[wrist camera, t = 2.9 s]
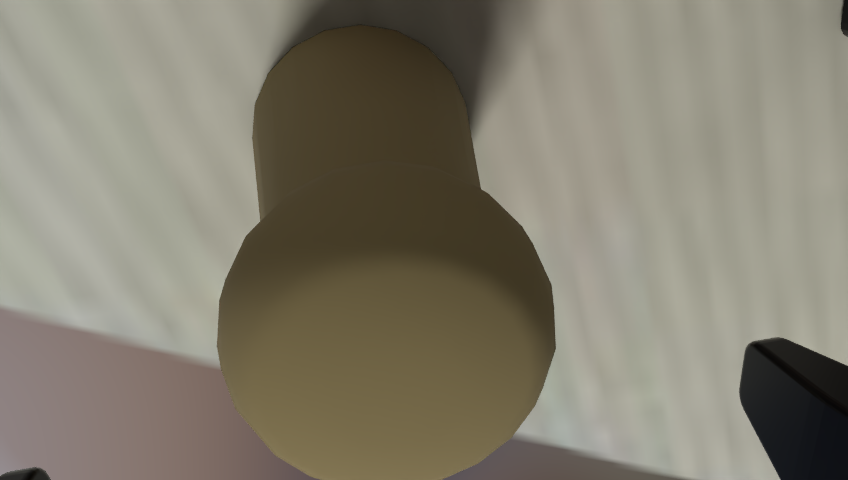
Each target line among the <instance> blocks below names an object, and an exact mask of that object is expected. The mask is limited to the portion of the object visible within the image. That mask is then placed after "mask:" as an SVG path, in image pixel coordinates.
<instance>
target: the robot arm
mask: <svg viewBox="0 0 848 480" xmlns="http://www.w3.org/2000/svg"><path fill="white" fill-rule="evenodd" d="M841 30H842V32H843V34H844V35H845V36H847V37H848V0H845V3H844V9H843V14H842V20H841ZM739 393H740V400H741V404H742V406H743V409H744V411H745V413H746V415H747V417H748V418H749V420H750V422H751V424H752V426H753V428H754V430H755V432H756V434H757V436H758V437H759V439H760V441H761V443H762V445H763V447H764V449H765V451H766V453H767V455H768V457H769V458H770V460H771V462H772V464H773V466H774V468H775V470H776V472H777V474H778V476H779V477H780V479H781V480H848V366H847V365H844V364H842V363H840V362H837V361H835V360H833V359H831V358H828V357H826V356H824V355H821V354H819V353H817V352H814V351H812V350H810V349H808V348H805V347H803V346H801V345H798V344H796V343H794V342H792V341H789V340H787V339H784V338H780V337H777V338H770V339H764V340H758V341H753V342H751V343H749V344H748V346H747V347H746V350H745V354H744V361H743V368H742V375H741V381H740V388H739ZM0 480H51V479H50V477H49V476H48V474H47V473H46V471H44V470H43V469H41V468H36V467H33V468H28V469H22V470H16V471H10V472H7V473H5V474H3V475H1V476H0Z"/></svg>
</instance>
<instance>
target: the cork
mask: <svg viewBox="0 0 848 480" xmlns="http://www.w3.org/2000/svg"><path fill="white" fill-rule="evenodd" d="M252 139H253V149H254V160H255V170H256V180H257V191H258V201H259V212H260V222H259V223H258V224H257V225H256V226H255V227H254V228H253V229H252V230H251V232H250V233H249V234H248V235H247V236H246V237H245V239H244V241H243V243H242V246H241V248H240V250H239V252H238V254H237V256H236V258H235V261H234V263H233V265H232V267H231V269H230V271H229V273H228V276H227V278H226V280H225V283H224V287H223V290H222V294H221V297H220V300H219V319H218V338H217V348H218V354H219V360H220V366H221V370H222V373H223V376H224V378H225V381H226V384H227V387H228V390H229V392H230V395H231V398H232V401H233V404H234V406H235V409H236V410H237V411H238V412H239V414H240V415H241V416H242V417H243V418H244V420H245V421H246V422H247V423H248V424H249V425H250V426H251V428H252V429H253V430H254V431H255V432H256V433H257V435H258V436H259V437H260V438H261V439H262V440H263V442H264V443H265V444H266V445H267V446H268V447H269V449H270V450H271V451H272V452H273V453H274V454H275V456H277V457H279V458H281V459H282V460H284V461H285V462H287V463H289V464H290V465H292V466H294V467H295V468H297V469H299V470H300V471H302V472H304V473H305V474H307V475H309V476H310V477H313V478H318V479H321V480H442V479H444V478H446V477H449V476H451V475H453V474H455V473H458V472H460V471H462V470H464V469H466V468H469V467H471V466H473V465H476V464H478V463H479V462H481V461H482V460H483V459H484V458H486V457H487V456H488V455H490V454H491V453H492V452H493V451H495V450H496V449H497V448H499V447H500V446H501V445H502V444H504V443H505V442H506V441H507V440H509V439H510V438H511V437H512V436H513V435H514V433H515V432H516V431H517V429H518V428H519V427H520V425H521V424H522V423H523V421H524V420H525V419H526V417H527V416H528V415H529V413H530V412H531V410H532V409H533V408H534V406H535V405H536V402H537V400H538V398H539V395H540V393H541V391H542V389H543V386H544V383H545V380H546V377H547V373H548V370H549V367H550V364H551V361H552V358H553V355H554V352H555V349H556V344H555V322H554V304H553V295H552V286H551V283H550V281H549V278H548V276H547V274H546V272H545V270H544V267H543V265H542V263H541V261H540V259H539V256H538V254H537V252H536V250H535V248H534V245H533V243H532V242H531V240H530V239H529V237H528V235H527V234H526V232H525V231H524V229H523V227H522V226H521V225H520V224H519V223H518V222H517V221H516V220H515V219H514V218H513V217H512V216H511V215H510V214H509V213H508V212H507V211H506V210H505V209H504V208H503V207H502V206H501V205H500V204H499V203H497V202H496V201H495V200H494V199H493V198H492V197H491V196H490V195H489V194H488V193H486V192H485V191H483V190H481V187H480V181H479V176H478V170H477V165H476V159H475V154H474V149H473V143H472V138H471V132H470V127H469V121H468V116H467V110H466V105H465V101H464V99H463V97H462V95H461V92H460V90H459V88H458V86H457V84H456V82H455V79H454V77H453V75H452V73H451V72H450V70H449V69H448V68H447V67H446V66H445V65H444V64H443V63H442V62H441V61H440V60H439V59H438V58H437V57H436V56H435V55H434V54H433V52H432V51H431V50H430V49H429V48H428V47H426V46H424V45H422V44H420V43H419V42H417V41H415V40H413V39H411V38H409V37H407V36H405V35H404V34H402V33H400V32H398V31H395V30H389V29H383V28H377V27H371V26H365V25H356V26H349V27H343V28H337V29H331V30H324V31H323V32H321V33H319V34H317V35H315V36H313V37H311V38H309V39H307V40H306V41H304V42H302V43H300V44H298V45H296V46H294V47H292V49H291V50H290V51H289V52H288V53H287V54H286V55H285V56H284V57H283V58H282V59H281V60H280V61H279V62H278V64H277V65H276V66H275V67H274V68H273V69H272V70H271V71H270V72H269V73H268V75H267V78H266V80H265V82H264V85H263V87H262V89H261V92H260V94H259V96H258V99H257V101H256V103H255V109H254V123H253V137H252Z"/></svg>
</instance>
